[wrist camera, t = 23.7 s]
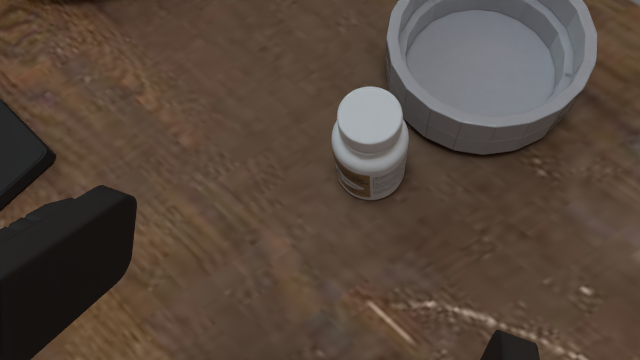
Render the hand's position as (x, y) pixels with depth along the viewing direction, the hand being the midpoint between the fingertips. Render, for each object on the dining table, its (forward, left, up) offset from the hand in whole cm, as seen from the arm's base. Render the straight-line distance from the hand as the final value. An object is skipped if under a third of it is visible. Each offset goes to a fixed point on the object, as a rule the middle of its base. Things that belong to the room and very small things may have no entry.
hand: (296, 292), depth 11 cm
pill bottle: (+7, -9, -21) cm, 24 cm away
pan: (+7, -19, -21) cm, 29 cm away
